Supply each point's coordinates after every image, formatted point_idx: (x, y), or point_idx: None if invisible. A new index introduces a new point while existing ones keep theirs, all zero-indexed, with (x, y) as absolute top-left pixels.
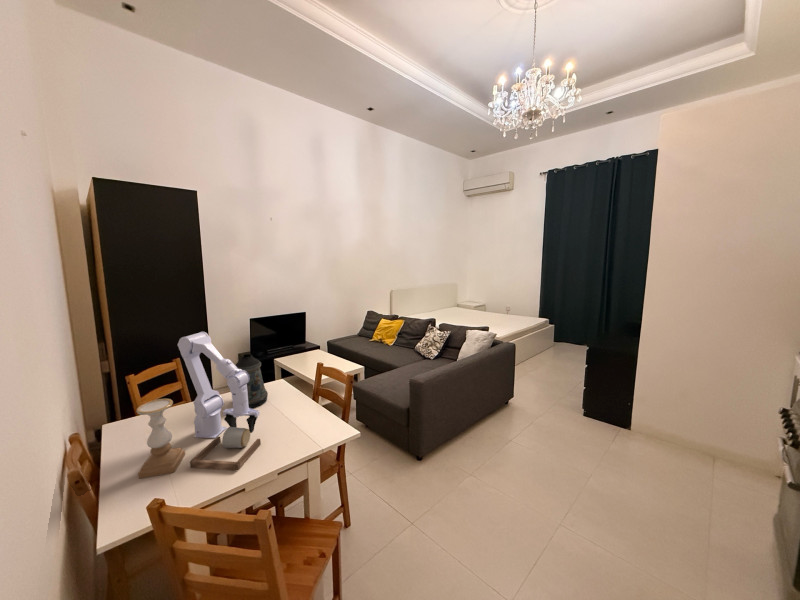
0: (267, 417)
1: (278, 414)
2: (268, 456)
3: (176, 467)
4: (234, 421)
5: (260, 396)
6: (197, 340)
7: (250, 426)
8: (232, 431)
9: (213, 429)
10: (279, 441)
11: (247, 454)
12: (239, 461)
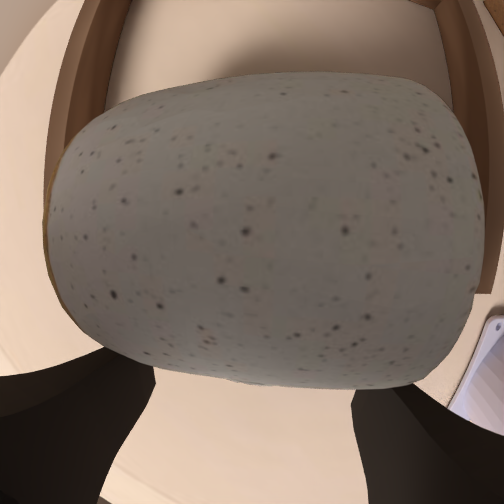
0: (225, 494)
1: (183, 497)
2: (15, 130)
3: (499, 18)
4: (386, 483)
5: None
6: None
7: (62, 370)
8: (274, 151)
9: None
10: (17, 275)
11: (70, 52)
12: None
